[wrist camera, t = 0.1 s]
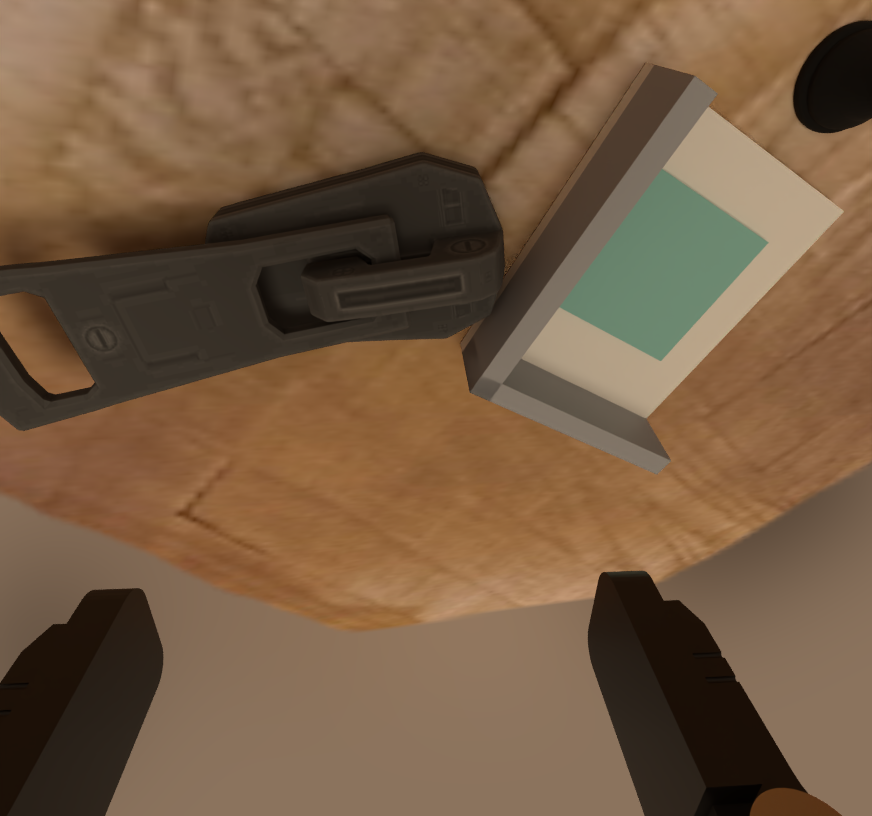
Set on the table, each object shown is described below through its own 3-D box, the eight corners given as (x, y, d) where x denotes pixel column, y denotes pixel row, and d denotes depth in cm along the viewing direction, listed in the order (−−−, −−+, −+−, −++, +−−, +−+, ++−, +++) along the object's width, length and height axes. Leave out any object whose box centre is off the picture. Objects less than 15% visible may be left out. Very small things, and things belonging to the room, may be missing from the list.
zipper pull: (-125, 273, 22) (517, 178, 21) (-23, 217, 27) (491, 141, 26) (9, 446, 27) (524, 375, 26) (72, 372, 32) (502, 311, 32)
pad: (649, 160, 26) (653, 162, 26) (764, 239, 29) (768, 242, 29) (549, 299, 30) (550, 302, 30) (658, 357, 33) (660, 361, 32)
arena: (645, 62, 25) (695, 75, 21) (831, 205, 29) (901, 239, 25) (460, 343, 33) (469, 392, 29) (628, 422, 37) (656, 474, 33)
